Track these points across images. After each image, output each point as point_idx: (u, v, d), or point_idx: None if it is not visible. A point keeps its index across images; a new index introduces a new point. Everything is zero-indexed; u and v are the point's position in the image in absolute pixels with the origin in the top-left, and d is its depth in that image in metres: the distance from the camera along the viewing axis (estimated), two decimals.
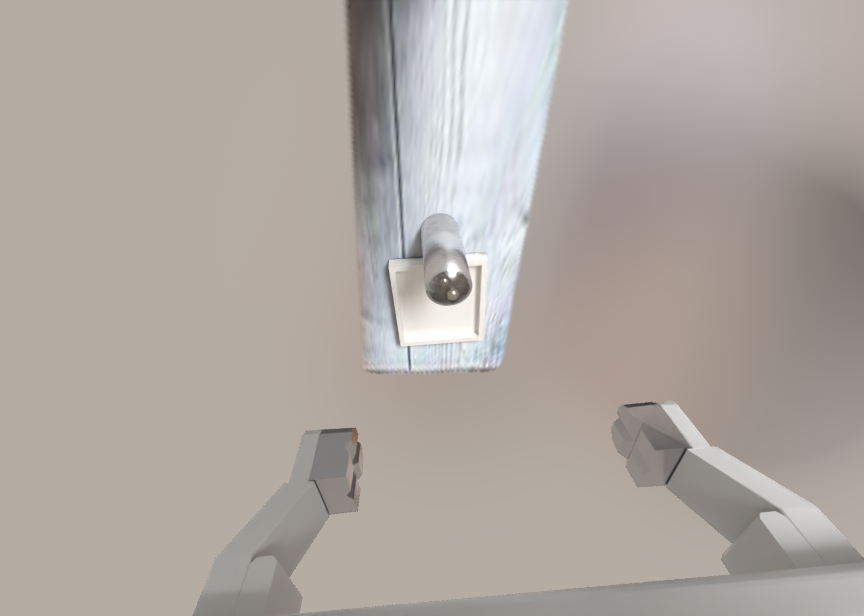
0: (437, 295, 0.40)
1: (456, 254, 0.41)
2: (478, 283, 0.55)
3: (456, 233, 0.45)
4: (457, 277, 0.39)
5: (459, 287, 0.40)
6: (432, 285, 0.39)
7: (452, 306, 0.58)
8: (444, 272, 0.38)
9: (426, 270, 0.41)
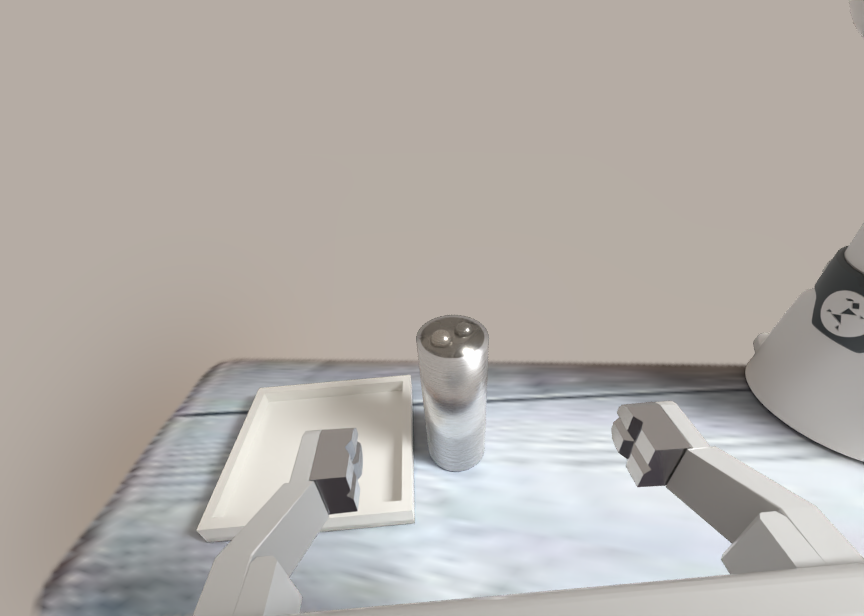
0: (437, 326, 0.27)
1: (486, 375, 0.27)
2: None
3: (480, 430, 0.29)
4: (471, 343, 0.25)
5: (453, 347, 0.25)
6: (455, 320, 0.27)
7: None
8: (479, 330, 0.26)
9: None
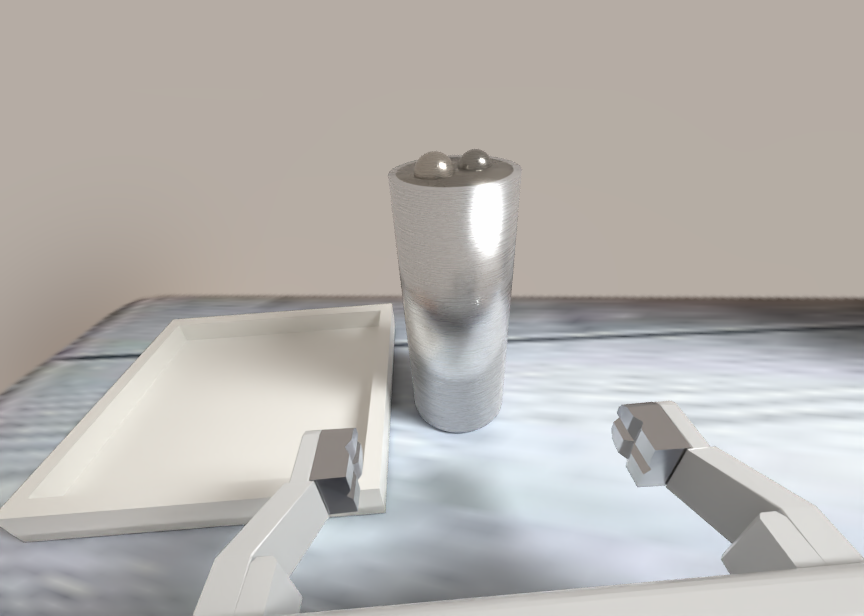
0: None
1: (513, 249, 0.15)
2: None
3: (498, 360, 0.18)
4: (490, 174, 0.13)
5: (455, 178, 0.13)
6: (460, 159, 0.16)
7: (221, 427, 0.20)
8: (502, 164, 0.15)
9: None
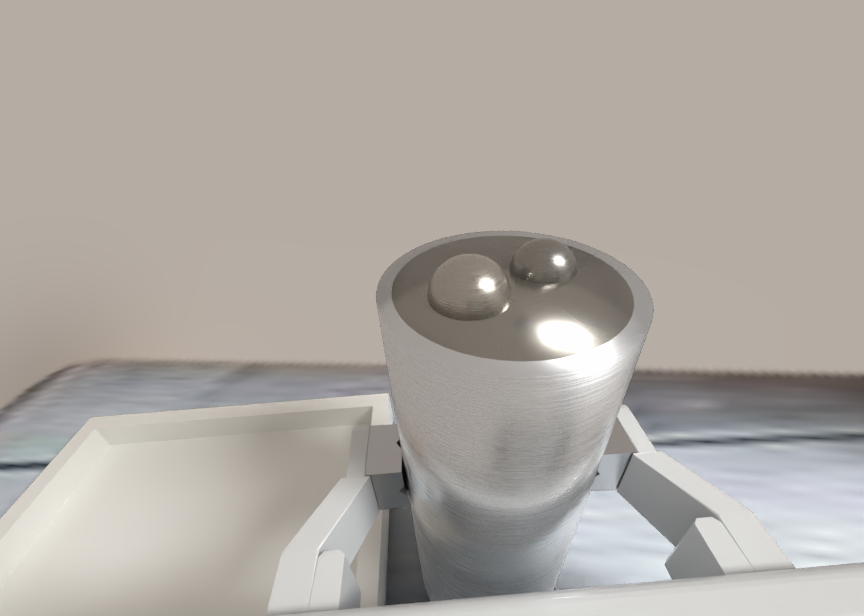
0: (451, 256, 0.08)
1: None
2: None
3: (563, 561, 0.11)
4: (589, 303, 0.06)
5: (518, 317, 0.06)
6: (508, 243, 0.09)
7: None
8: (597, 264, 0.08)
9: None
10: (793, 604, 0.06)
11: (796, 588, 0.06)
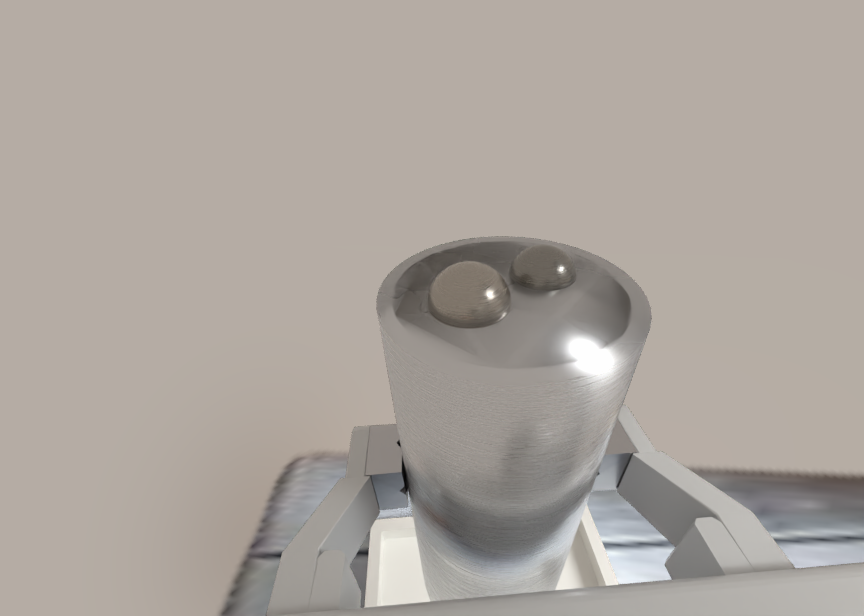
0: (451, 262, 0.08)
1: None
2: None
3: (563, 564, 0.11)
4: (587, 311, 0.07)
5: (517, 325, 0.06)
6: (507, 249, 0.09)
7: None
8: (596, 270, 0.08)
9: None
10: (793, 604, 0.06)
11: (796, 588, 0.06)
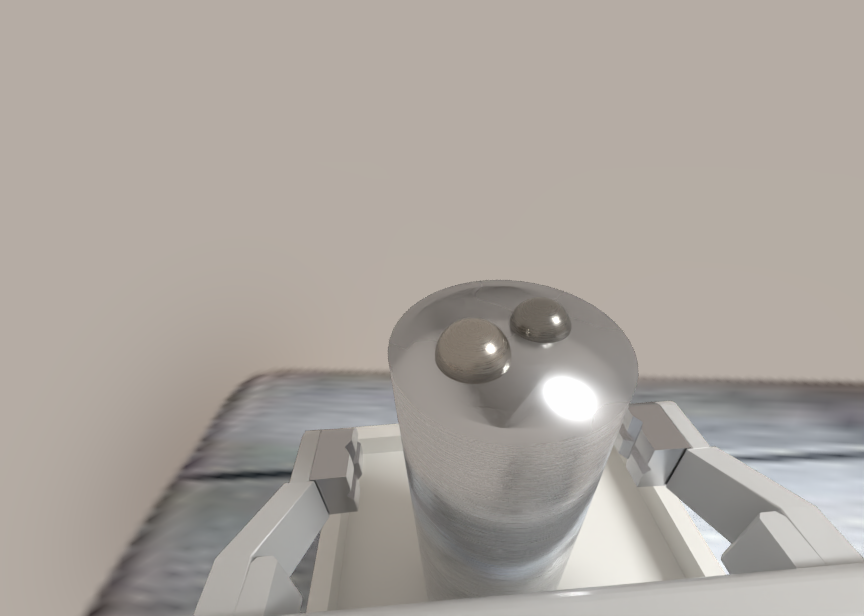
0: (455, 309, 0.09)
1: None
2: None
3: (558, 582, 0.11)
4: (581, 366, 0.07)
5: (517, 381, 0.07)
6: (508, 295, 0.09)
7: None
8: (589, 321, 0.08)
9: None
10: (793, 604, 0.06)
11: (796, 588, 0.06)
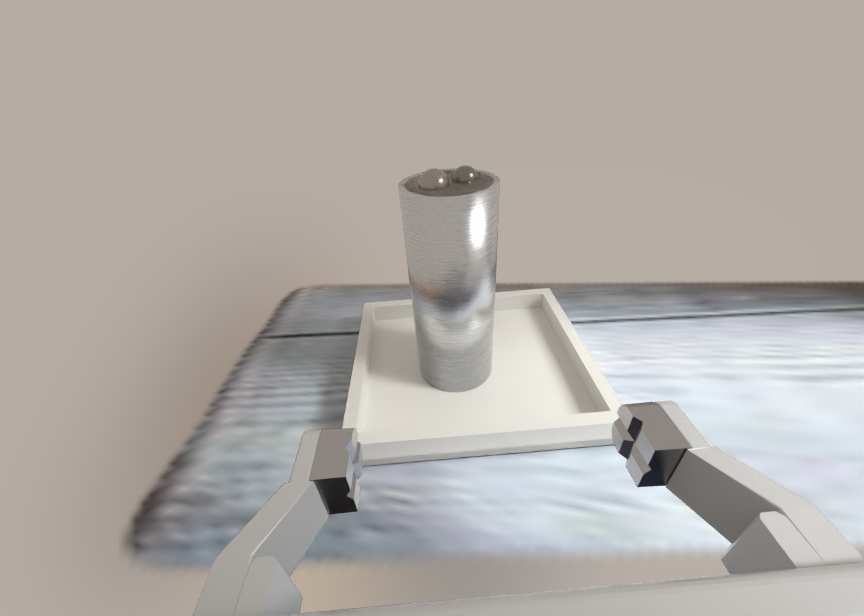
0: None
1: (495, 242, 0.19)
2: None
3: (486, 331, 0.22)
4: (476, 185, 0.18)
5: (450, 189, 0.18)
6: (454, 172, 0.20)
7: None
8: (486, 176, 0.19)
9: None
10: (793, 604, 0.06)
11: (796, 588, 0.06)
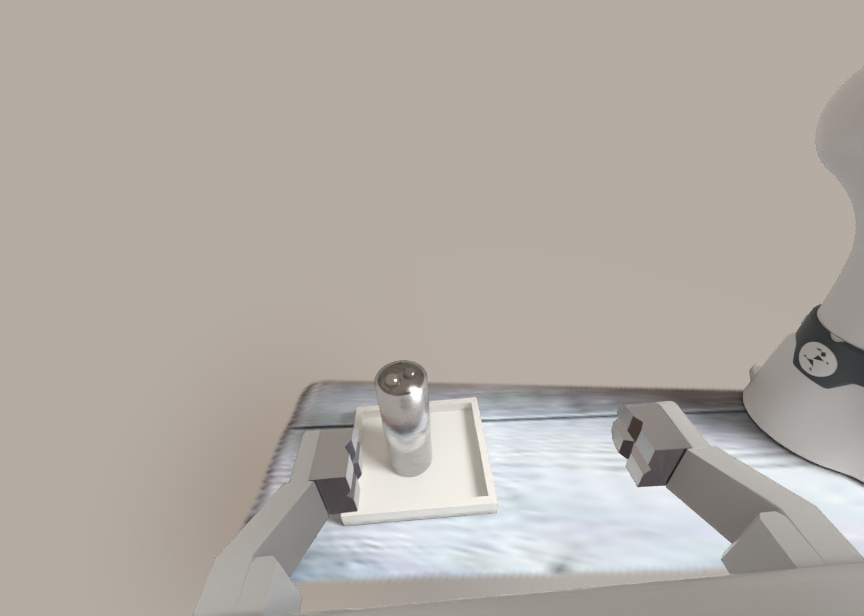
0: (391, 369, 0.37)
1: (426, 407, 0.37)
2: None
3: (424, 446, 0.39)
4: (413, 384, 0.35)
5: (400, 387, 0.35)
6: (406, 365, 0.37)
7: None
8: (421, 373, 0.36)
9: None
10: (793, 604, 0.06)
11: (796, 588, 0.06)
